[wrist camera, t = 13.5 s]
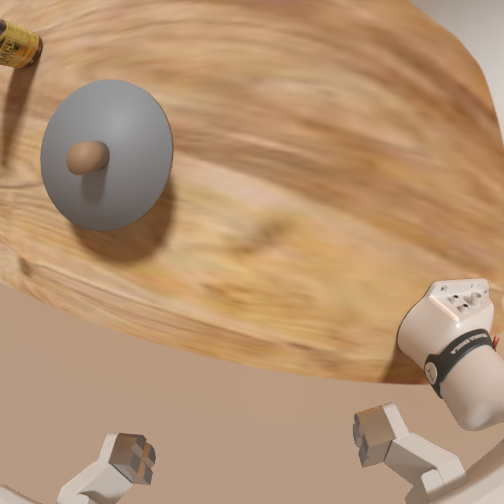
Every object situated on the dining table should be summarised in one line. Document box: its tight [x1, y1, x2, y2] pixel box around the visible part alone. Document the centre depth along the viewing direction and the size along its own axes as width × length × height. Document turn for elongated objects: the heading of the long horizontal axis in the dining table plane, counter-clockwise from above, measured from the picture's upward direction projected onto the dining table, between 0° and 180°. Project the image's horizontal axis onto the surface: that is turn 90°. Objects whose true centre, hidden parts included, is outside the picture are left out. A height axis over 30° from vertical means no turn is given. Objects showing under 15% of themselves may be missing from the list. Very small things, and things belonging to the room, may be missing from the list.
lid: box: [40, 80, 173, 231], centre depth 25 cm, size 17×17×5 cm
